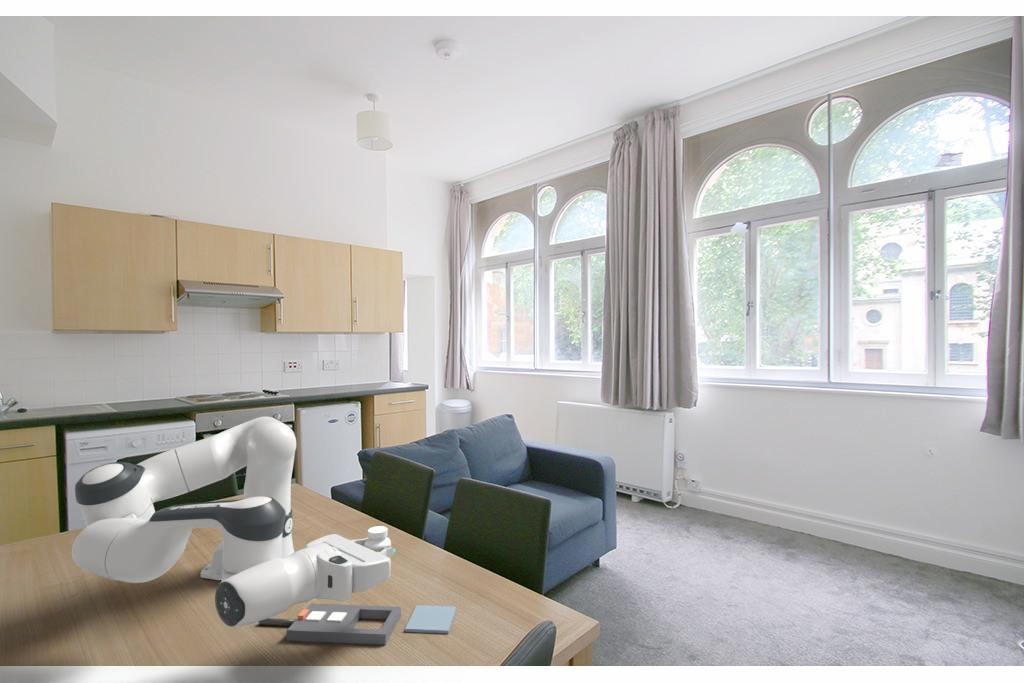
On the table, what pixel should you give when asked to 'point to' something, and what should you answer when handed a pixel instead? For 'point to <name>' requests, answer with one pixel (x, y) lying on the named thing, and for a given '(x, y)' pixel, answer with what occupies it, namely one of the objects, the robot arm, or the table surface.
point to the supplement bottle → (377, 539)
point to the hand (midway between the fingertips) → (381, 545)
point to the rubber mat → (431, 619)
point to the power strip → (339, 623)
